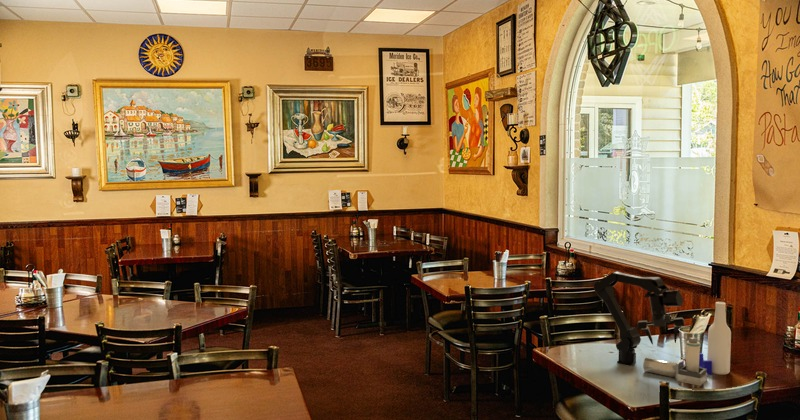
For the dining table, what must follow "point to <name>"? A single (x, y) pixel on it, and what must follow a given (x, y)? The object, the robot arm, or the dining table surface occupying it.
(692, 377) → the grey cylinder with box
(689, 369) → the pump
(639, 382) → the dining table surface
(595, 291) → the robot arm
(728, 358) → the alcohol
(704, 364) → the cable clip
